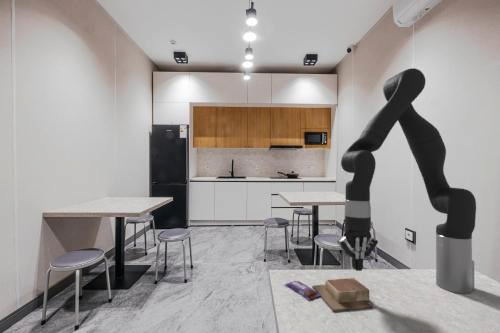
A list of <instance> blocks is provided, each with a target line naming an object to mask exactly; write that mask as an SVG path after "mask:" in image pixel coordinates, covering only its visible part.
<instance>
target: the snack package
mask: <svg viewBox="0 0 500 333" xmlns="http://www.w3.org/2000/svg"><path fill="white" fill-rule="evenodd" d="M284 285H285V286H286V287H288V288H289V289H291V290H292V291H295V293H297V294H299V295H300V296H301V297H303V298H305V299H307V300H309V301H310V300H313V299H315V298H318V297H320V295H319V294H318V293H317V292H316V291H315V290H314V289H313V288H311V286H308V285H307V284H304V283H303V282H301V281H300V280H294V281H291V282H287V283H285V284H284Z"/></svg>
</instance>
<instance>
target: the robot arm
mask: <svg viewBox="0 0 500 333" xmlns="http://www.w3.org/2000/svg"><path fill="white" fill-rule="evenodd" d="M425 86H426V77H425V75H424V73H423V72H422V71H421V70H420V69H418V68H413V67H412V68H407V69H404V70H403V71H400V72H399V73H398V74H395V75H394V76H392V77H390V78H388V79H387V80H385V82H384V84H383V88H382V90H383V91H382V92H383V95H384V98H385V101H386V103H385V105H383V107H382V108H380V109H379V110H378V111H377V113H376V114H374V116H373V117H372V118H371V119H370V120H369V121H368V123H366V126H365V128H364V129H363V130H362V132H361V133H360V135H359V137H358V138H357V139H356V140H354V141H353V143H352V144H351V145H350V146H349V147H348V148H347V149H346V150H345V152H344V153H343V155H342V157H341V160H340V166H341V168H342V169H343V171H344V172H346V173H350V174H353V178H352V180H349V181H347V182H346V184H345V201H344V230H345V231H344V233H343V237H342V238H341V239H337V241H336V242H337V244H338V245H339V246H340V248H341V249H342V251H343V252H344V253H345V254H346V255H347V256H348V257H350V258H351V259H352V260H351V265H352V268H353V269H354V270H355V271H357V272H360V271H363V268H364V258H365V257H369V256H370V255H371V253H372V252H373V250H374V249H375V247H376V246H377V245H378V243H379V241H378V240H377V239H375V238H373V237H372V234H371V229H372V214H371V213H372V209H371V208H372V206H371V184H372V181H373V177H374V175H375V171H376V166H377V165H376V158H375V156H374V154H373V153H374V152H376V151H378V150H380V148H381V147H382V145H383V143H384V142H385V141H386V139H387V138H388V135H389V134H390V132H391V130H392V129H393V128H394V126H395V125H396V123H399V126H400V128H401V130H402V132H403V134H404V137H405V139H406V142H407V144H408V146H409V147H408V148H409V149H410V151H411V153H412V156H413V158H414V160H415V162H416V165H417V168H418V169H419V172H420V174H421V177H422V180H423V183H424V186H425V190H426V193H427V196H428V200H429V202H430V205H431V206H432V208H433V209H434V210H435V211H437V212H439V213H441V214H446V221H445V222H444V223H440V224H437V225H436V226H435V227H436V228H435V242H436V243H435V246H436V247H435V261H436V262H435V264H436V265H435V275H436V276H435V282H436V285H437V286H439V287H440V288H442V289H444V290H447V291H449V292H453V293H457V294H471V293H472V292H473V291H474V290H475V261H474V260H473V245H472V244H473V232H474V230H475V228H476V216H477V215H476V214H477V201H476V198H475V197H476V196H475V195H474V193H473V192H471V191H470V190H469V189H465V188H459V187H451V186H450V183H449V182H448V180H447V178H446V175H445V171H444V168H445V161H446V156H447V148H446V145H445V142H444V140H443V138H442V136H441V134H440V131H439V130H438V129H437V127H435V126H434V125H433V123H431V122H430V121H428V120H427V119H426V118H424V117H422V116H421V115H420V114H419V113H418V111H416V109H415V108H414V106H413V103H414V101H415V100H416V99H417V98H418V97H419V95H420V94H421V93H422V92H423V90H424V89H425ZM348 244H349V246H348Z"/></svg>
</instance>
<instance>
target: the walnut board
mask: <svg viewBox="0 0 500 333" xmlns="http://www.w3.org/2000/svg"><path fill="white" fill-rule="evenodd" d="M311 286H312V289H313V290H315V291H316V292H317V293H318V294H319V295H320V296H319V297H320V299H321V300H323V302H324V303H325V304H326V306H327V307H328V308H329V309H330V310H331V311H332V312H334V313H335V312H336V313H337V312H344V311H346V312H347V311H356V310H357V311H358V310H365V309H366V310H367V309H373V305H372V304H371V303H370V302H369V301H368V300H363V301H352V302H341V303H338V302H337V301H336V300H335V299H334V298H333V297H332V296H331V295H330V294H329V293H328V291H327V290H326V289H325V284H316V285H311Z"/></svg>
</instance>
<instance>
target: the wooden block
mask: <svg viewBox="0 0 500 333" xmlns="http://www.w3.org/2000/svg"><path fill="white" fill-rule="evenodd" d="M324 281H325V284H324V285H325V289H326V290H327V291H328V293H329V294H330V295H331V296H332V297H333V298H334V299H335V300H336V301H337V302H338V303H341V302H352V301H363V300H366V301H369V300H370V289H369V288H368V287H366V286H365V285H364V284H363V283H361V282H360V281H359V280H358V279H356V278H355V277H351V278H350V277H349V278H348V277H347V278H333V279H325V280H324Z"/></svg>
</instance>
